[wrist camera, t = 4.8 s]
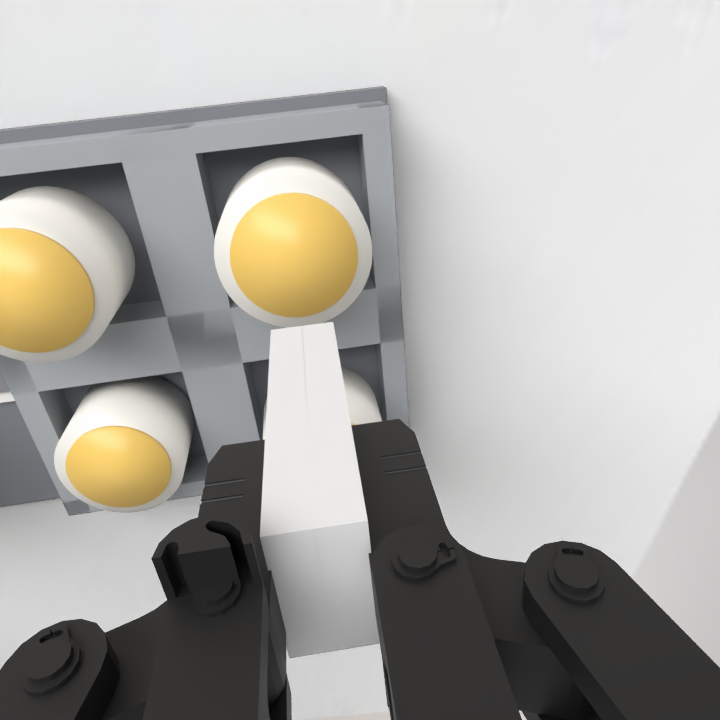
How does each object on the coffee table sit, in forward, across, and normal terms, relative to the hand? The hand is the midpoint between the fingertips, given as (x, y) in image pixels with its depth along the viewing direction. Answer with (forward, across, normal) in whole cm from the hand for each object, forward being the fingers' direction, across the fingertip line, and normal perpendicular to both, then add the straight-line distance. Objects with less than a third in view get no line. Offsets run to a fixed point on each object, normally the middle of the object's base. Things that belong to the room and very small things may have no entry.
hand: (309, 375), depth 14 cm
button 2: (+15, -10, -10) cm, 20 cm away
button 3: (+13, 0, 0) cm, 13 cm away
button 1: (+13, -10, 0) cm, 16 cm away
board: (+16, -8, -5) cm, 19 cm away
